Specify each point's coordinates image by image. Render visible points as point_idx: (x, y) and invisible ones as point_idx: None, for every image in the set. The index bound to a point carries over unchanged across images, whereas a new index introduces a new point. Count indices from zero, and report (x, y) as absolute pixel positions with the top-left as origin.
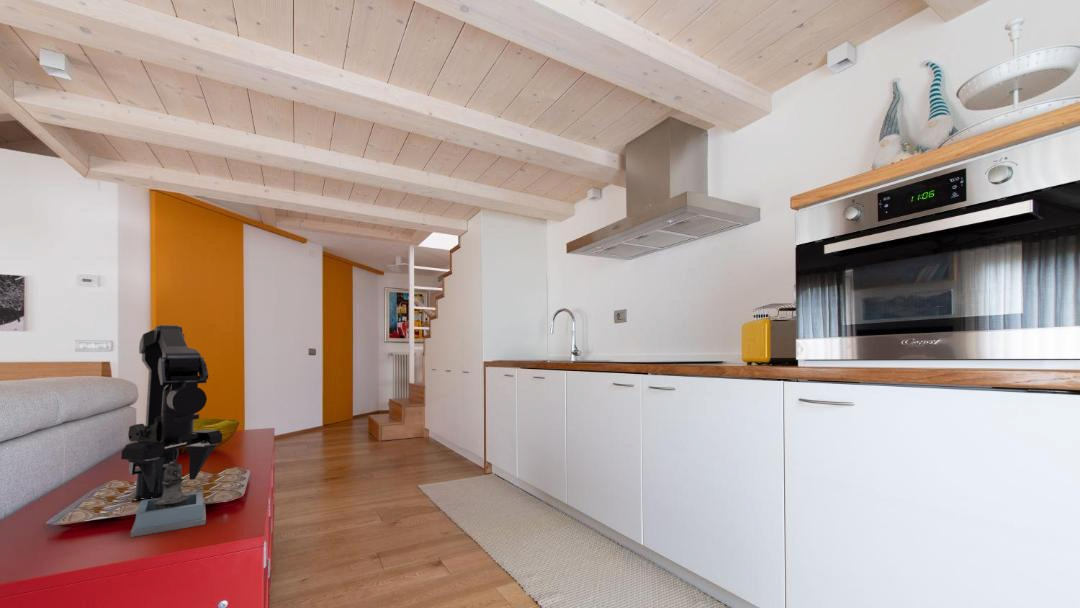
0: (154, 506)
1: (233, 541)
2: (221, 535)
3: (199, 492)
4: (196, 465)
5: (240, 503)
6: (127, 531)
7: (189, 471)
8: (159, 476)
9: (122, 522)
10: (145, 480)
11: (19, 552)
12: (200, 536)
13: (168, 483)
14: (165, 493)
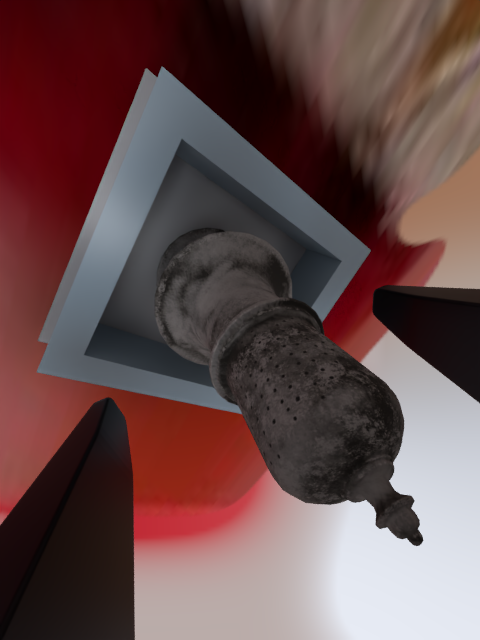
0: (202, 166)
1: (200, 508)
2: (209, 471)
3: (359, 250)
4: (462, 367)
5: (386, 282)
6: (55, 241)
7: (421, 301)
8: (124, 571)
9: (76, 39)
10: (29, 487)
11: None
12: (182, 452)
13: (222, 395)
14: (202, 340)
